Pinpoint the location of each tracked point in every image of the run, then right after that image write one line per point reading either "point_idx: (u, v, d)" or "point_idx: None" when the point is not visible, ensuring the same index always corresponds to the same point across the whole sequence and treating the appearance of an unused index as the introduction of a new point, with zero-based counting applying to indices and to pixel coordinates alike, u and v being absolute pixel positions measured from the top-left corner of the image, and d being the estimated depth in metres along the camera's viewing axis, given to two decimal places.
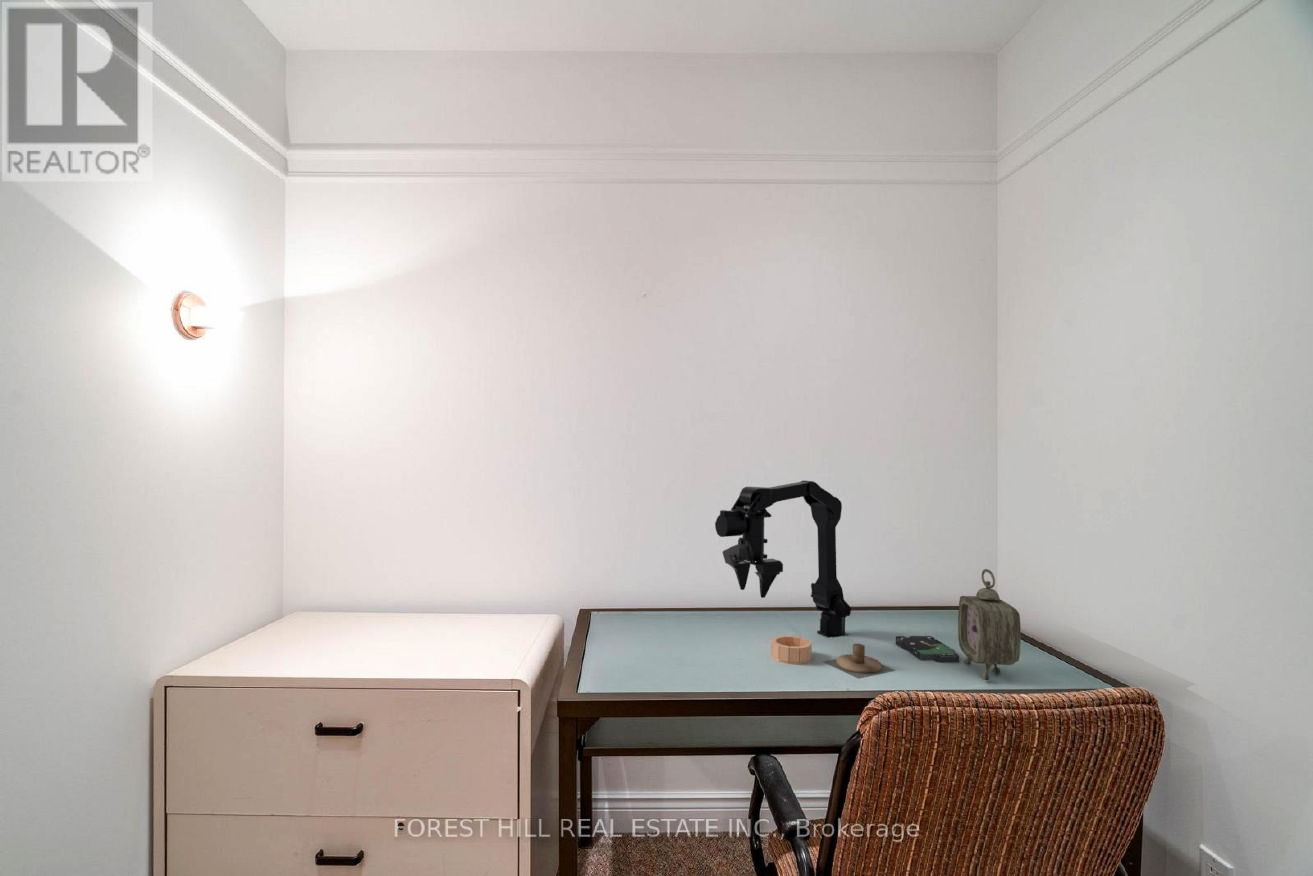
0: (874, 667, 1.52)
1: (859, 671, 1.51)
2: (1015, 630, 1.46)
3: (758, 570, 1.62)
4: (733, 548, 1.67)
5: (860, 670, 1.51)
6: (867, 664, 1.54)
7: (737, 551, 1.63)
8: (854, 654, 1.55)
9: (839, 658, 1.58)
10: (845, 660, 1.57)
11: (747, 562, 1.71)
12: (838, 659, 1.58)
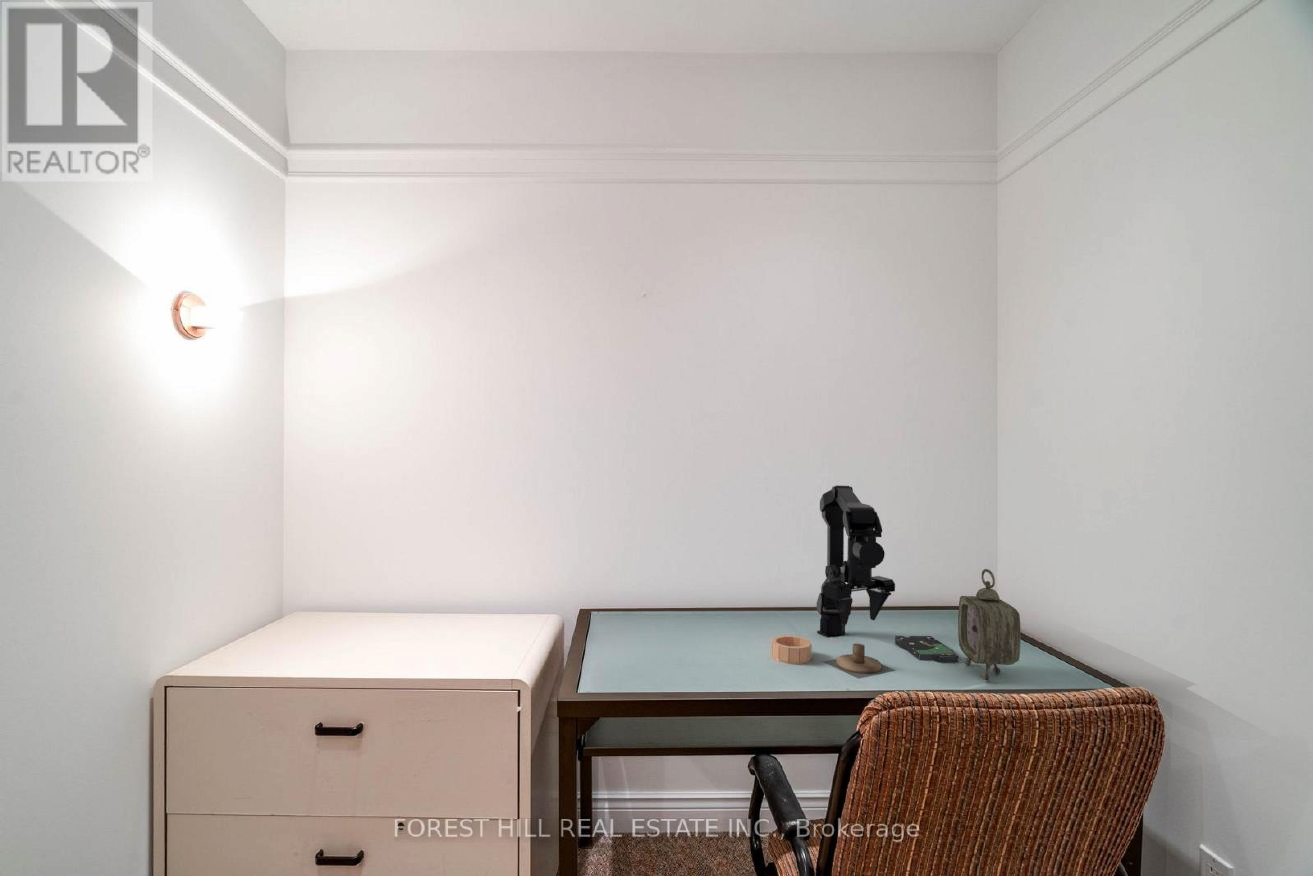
0: (874, 667, 1.52)
1: (859, 671, 1.51)
2: (1015, 630, 1.46)
3: None
4: None
5: (860, 670, 1.51)
6: (867, 664, 1.54)
7: None
8: (854, 654, 1.55)
9: (839, 658, 1.58)
10: (845, 660, 1.57)
11: None
12: (838, 659, 1.58)
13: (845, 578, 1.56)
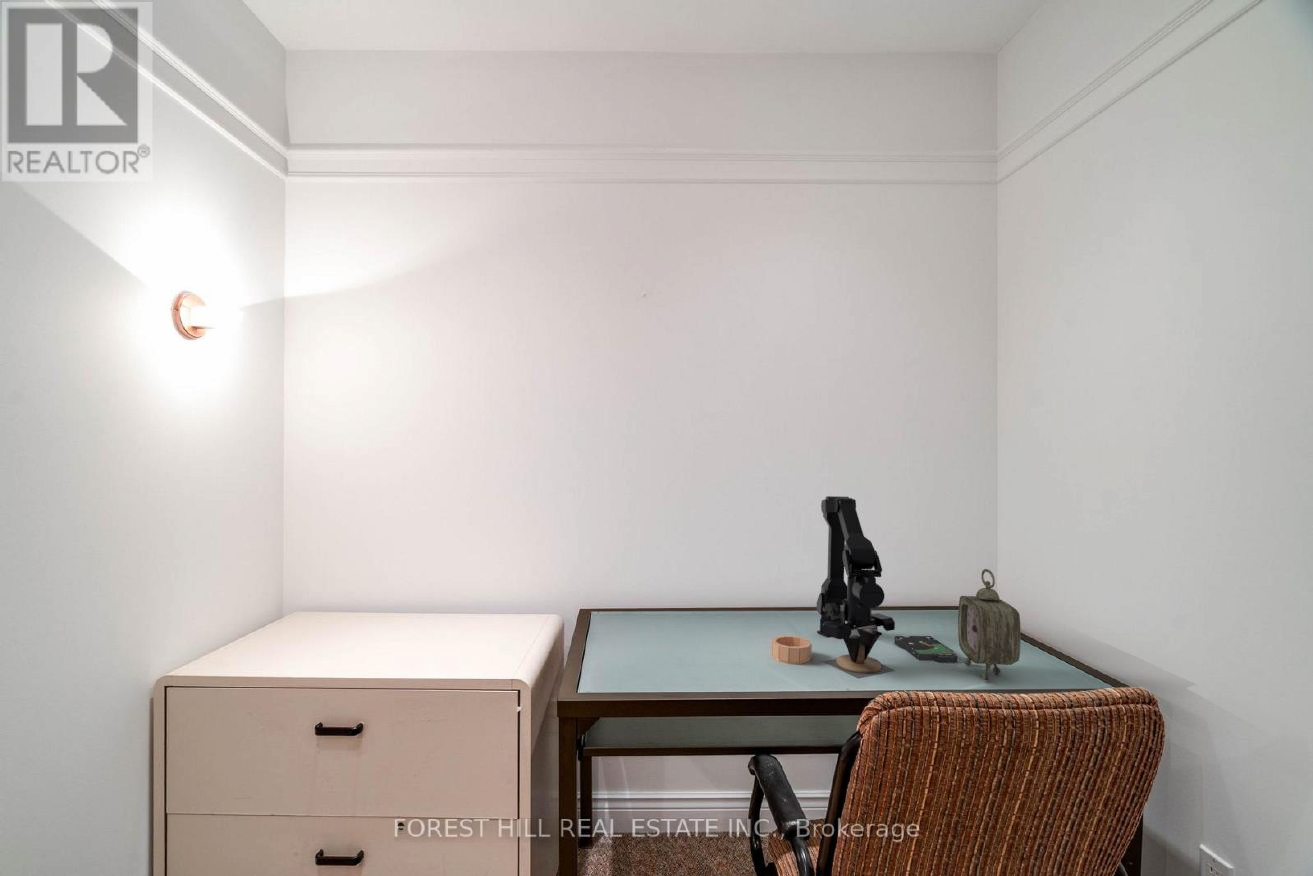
0: (874, 667, 1.52)
1: (859, 671, 1.51)
2: (1015, 630, 1.46)
3: None
4: None
5: (860, 670, 1.51)
6: (867, 664, 1.54)
7: None
8: None
9: (839, 658, 1.58)
10: (845, 660, 1.57)
11: None
12: (838, 659, 1.58)
13: (845, 617, 1.56)
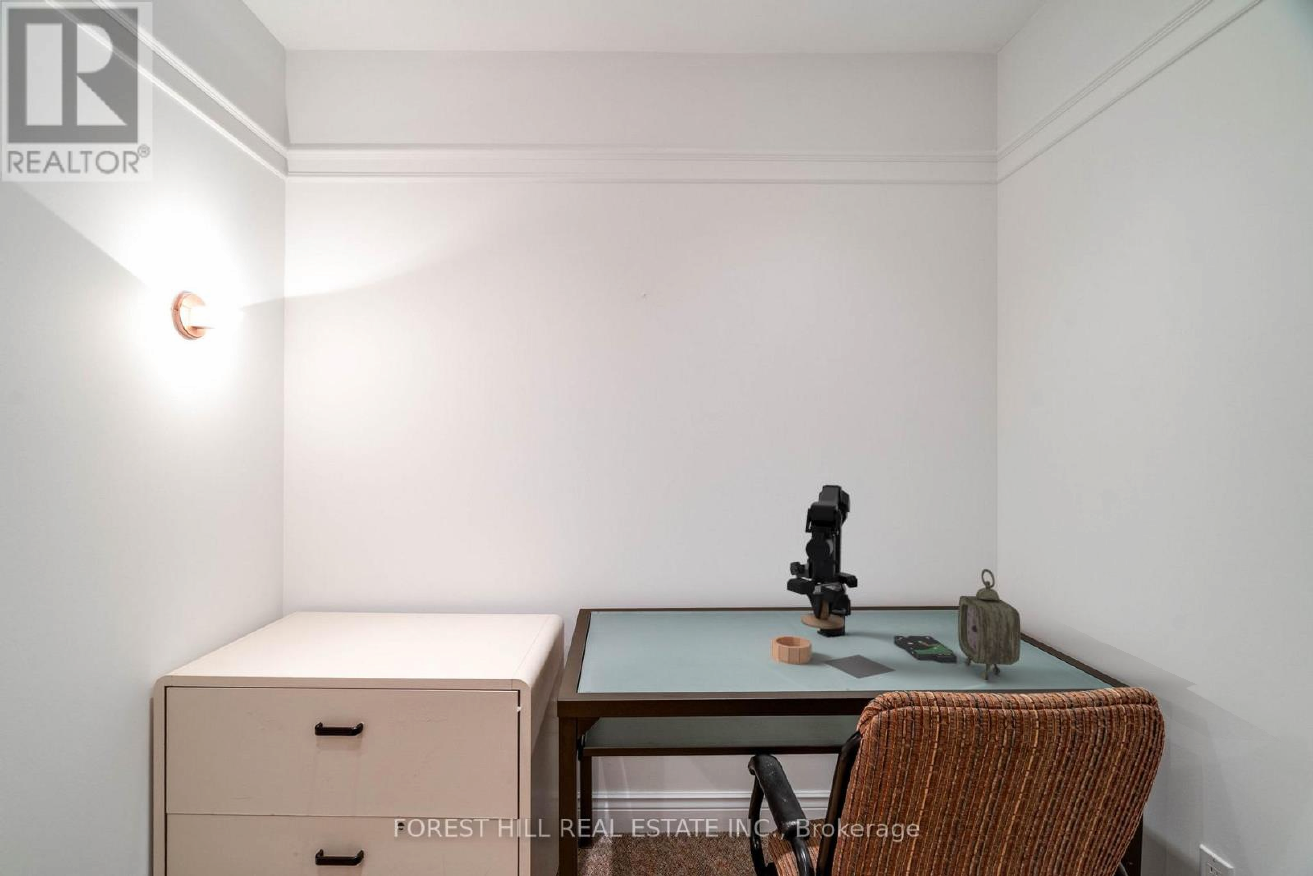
0: (837, 623, 1.55)
1: (823, 626, 1.54)
2: (1015, 630, 1.46)
3: None
4: None
5: (824, 625, 1.54)
6: (830, 620, 1.57)
7: None
8: None
9: (804, 616, 1.61)
10: (810, 617, 1.59)
11: None
12: (802, 616, 1.60)
13: (809, 574, 1.59)
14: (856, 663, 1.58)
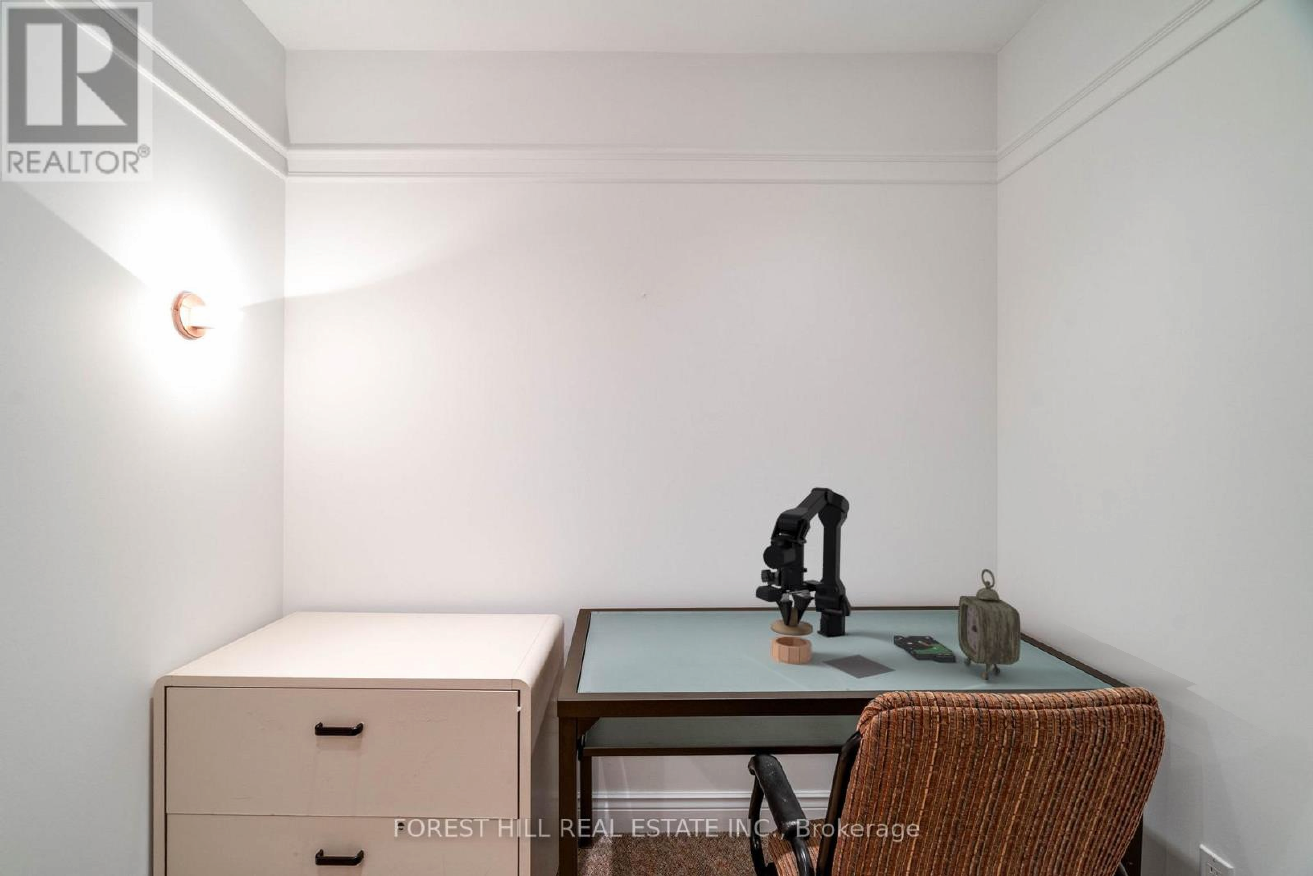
0: (805, 630, 1.58)
1: (790, 633, 1.57)
2: (1015, 630, 1.46)
3: None
4: None
5: (791, 632, 1.57)
6: (799, 627, 1.60)
7: None
8: None
9: (774, 622, 1.64)
10: (779, 624, 1.62)
11: None
12: (772, 623, 1.63)
13: (779, 582, 1.62)
14: (856, 663, 1.58)
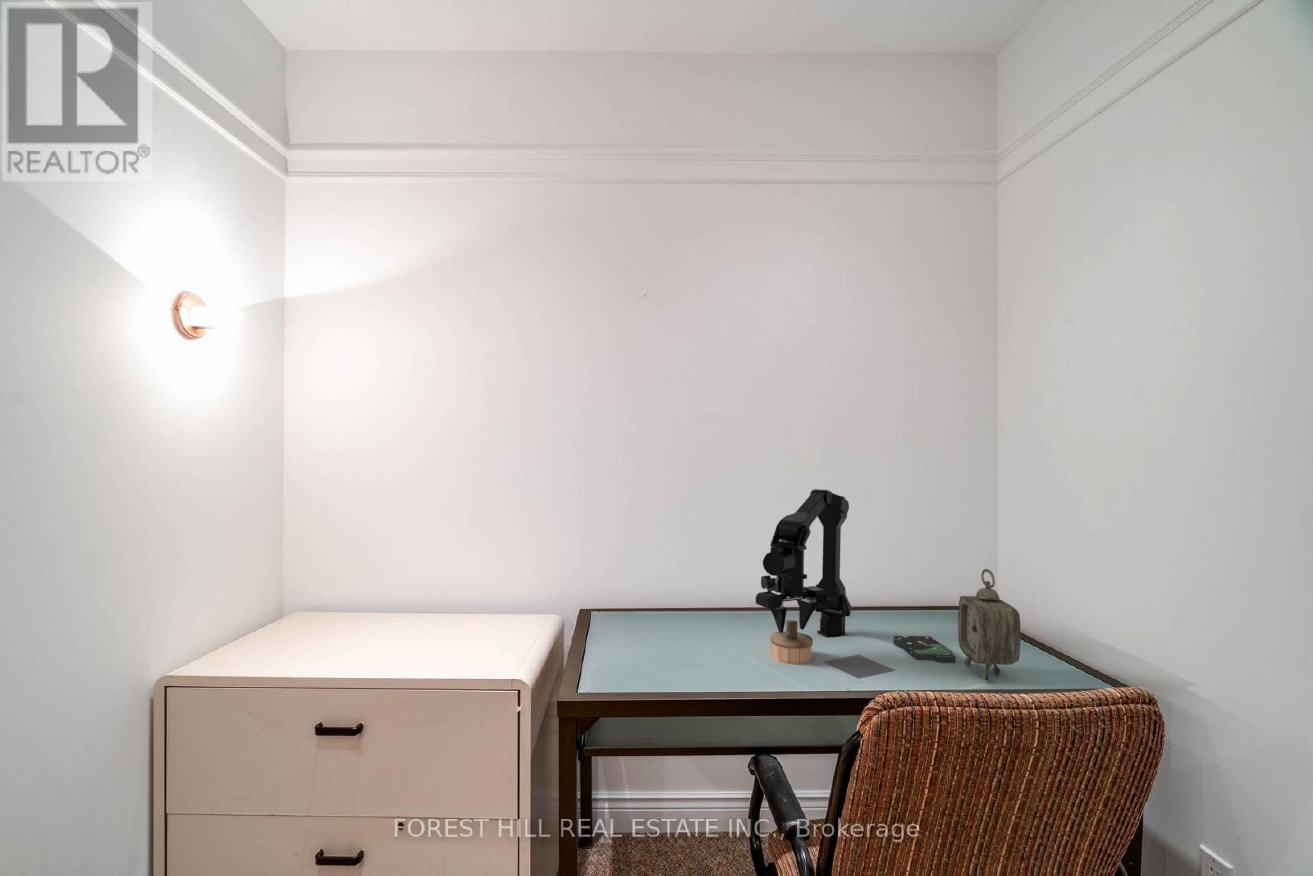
0: (805, 642, 1.58)
1: (790, 646, 1.57)
2: (1015, 630, 1.46)
3: None
4: None
5: (791, 645, 1.57)
6: (799, 640, 1.60)
7: None
8: (787, 630, 1.61)
9: (774, 634, 1.64)
10: (779, 636, 1.62)
11: None
12: (772, 635, 1.63)
13: (778, 588, 1.62)
14: (856, 663, 1.58)
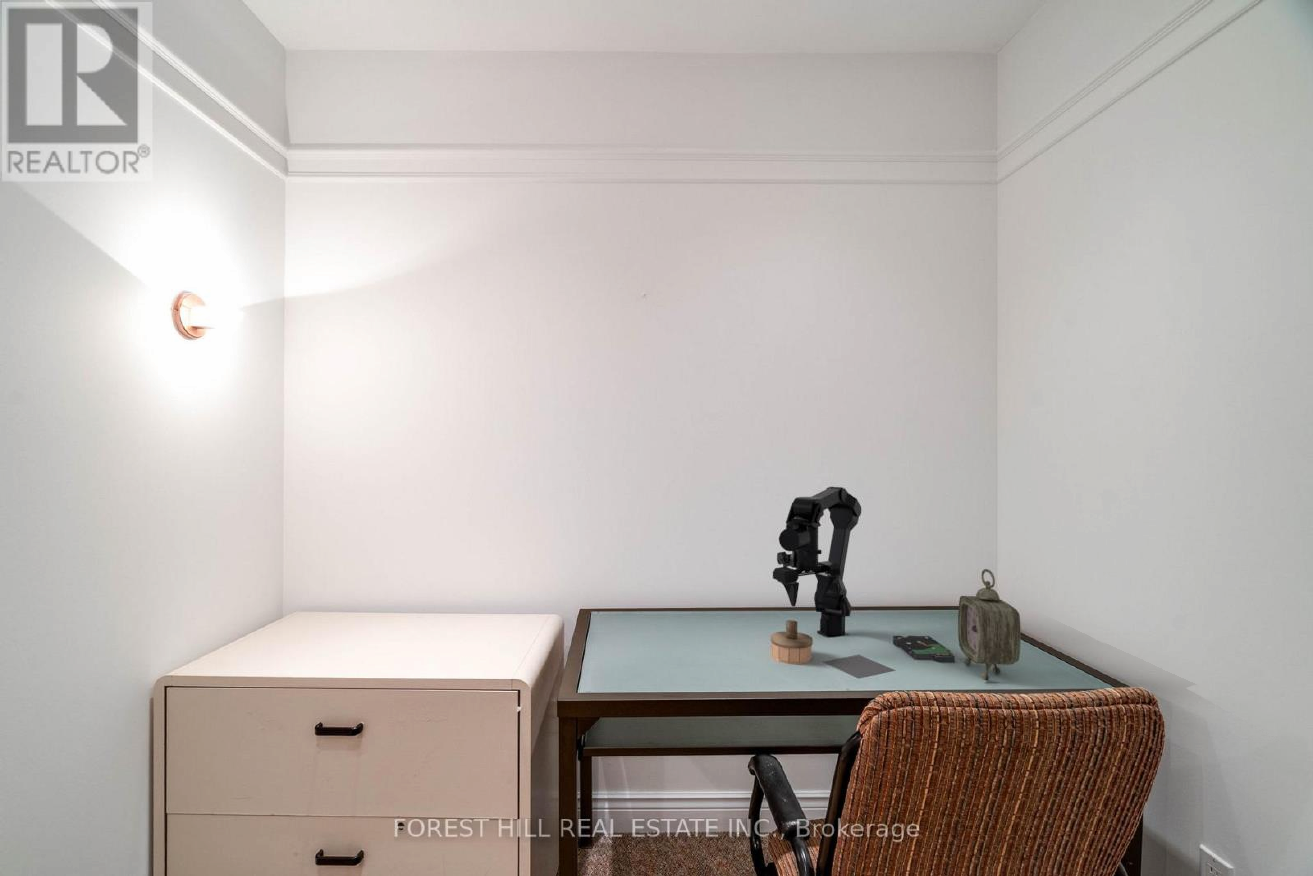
0: (805, 642, 1.58)
1: (790, 646, 1.57)
2: (1015, 630, 1.46)
3: None
4: None
5: (791, 645, 1.57)
6: (799, 640, 1.60)
7: None
8: (787, 630, 1.61)
9: (774, 634, 1.64)
10: (779, 636, 1.62)
11: (811, 572, 1.70)
12: (772, 635, 1.63)
13: (794, 564, 1.70)
14: (856, 663, 1.58)
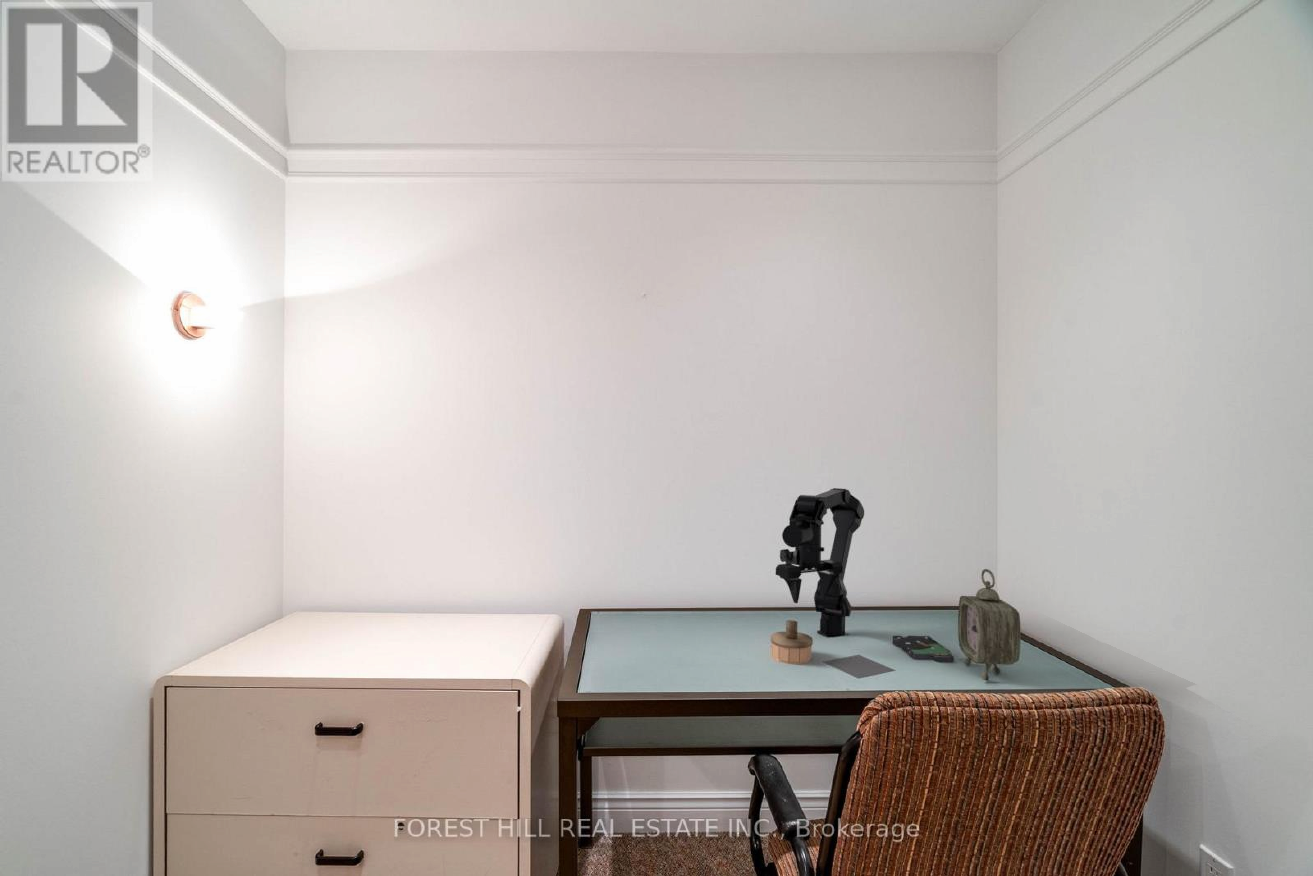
0: (805, 642, 1.58)
1: (790, 646, 1.57)
2: (1015, 630, 1.46)
3: None
4: None
5: (791, 645, 1.57)
6: (799, 640, 1.60)
7: None
8: (787, 630, 1.61)
9: (774, 634, 1.64)
10: (779, 636, 1.62)
11: None
12: (772, 635, 1.63)
13: (797, 561, 1.71)
14: (856, 663, 1.58)
